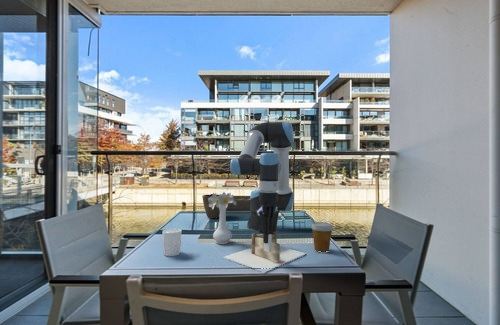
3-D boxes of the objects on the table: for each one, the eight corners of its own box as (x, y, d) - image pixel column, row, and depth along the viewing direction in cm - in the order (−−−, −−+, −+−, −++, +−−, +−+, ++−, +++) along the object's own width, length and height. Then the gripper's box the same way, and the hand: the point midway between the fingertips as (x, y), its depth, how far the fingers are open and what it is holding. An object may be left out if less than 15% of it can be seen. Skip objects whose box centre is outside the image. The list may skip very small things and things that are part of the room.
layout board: (266, 244, 133) (266, 242, 133) (306, 254, 118) (306, 253, 118) (223, 258, 112) (223, 256, 112) (264, 273, 97) (264, 271, 97)
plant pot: (199, 219, 189) (199, 196, 189) (206, 215, 203) (206, 194, 203) (219, 220, 186) (220, 197, 186) (225, 216, 201) (225, 194, 201)
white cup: (164, 250, 121) (164, 228, 121) (182, 250, 122) (182, 228, 122) (160, 257, 113) (160, 233, 113) (179, 256, 114) (179, 232, 114)
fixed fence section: (274, 245, 129) (274, 227, 129) (277, 246, 127) (277, 228, 127) (250, 253, 117) (250, 233, 117) (253, 254, 116) (254, 234, 116)
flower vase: (220, 236, 146) (220, 189, 146) (243, 243, 133) (243, 192, 133) (199, 240, 137) (199, 191, 137) (221, 249, 124) (222, 194, 124)
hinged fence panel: (254, 254, 115) (255, 237, 115) (257, 253, 116) (257, 236, 116) (277, 262, 105) (277, 244, 105) (279, 261, 106) (279, 244, 106)
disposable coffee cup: (333, 248, 126) (333, 223, 126) (332, 255, 117) (332, 227, 117) (312, 246, 130) (312, 221, 130) (309, 252, 121) (310, 225, 121)
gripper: (265, 193, 101) (264, 257, 101) (286, 191, 111) (284, 249, 110) (250, 191, 106) (249, 252, 106) (271, 189, 116) (270, 245, 116)
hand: (267, 250), depth 108 cm, fingers closed
